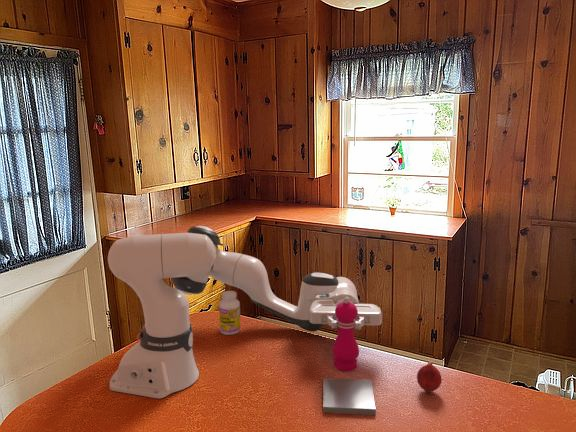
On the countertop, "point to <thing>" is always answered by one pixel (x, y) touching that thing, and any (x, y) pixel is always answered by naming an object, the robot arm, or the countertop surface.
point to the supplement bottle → (229, 313)
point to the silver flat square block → (348, 396)
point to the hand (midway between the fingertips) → (346, 326)
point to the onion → (429, 377)
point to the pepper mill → (345, 337)
